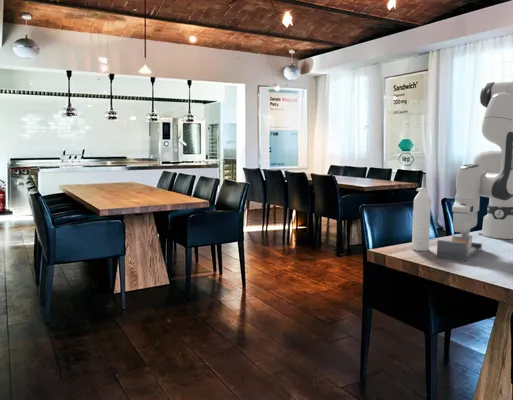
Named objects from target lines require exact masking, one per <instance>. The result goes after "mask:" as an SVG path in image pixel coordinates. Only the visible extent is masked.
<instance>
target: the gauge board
mask: <svg viewBox="0 0 513 400" xmlns="http://www.w3.org/2000/svg"><path fill="white" fill-rule="evenodd" d="M436 243H437V247H436V257H437V258H440V259H447V260H455V261H460V262H466V261H467V260H469V259H471V258H473V256H475V255H477V253H479V252H480V251H482V250H483V243H480V242H473V241H472V249H470V250H468V251H467V244H468V243H460V242H452V240H451V241H450V240H443V239H442V240H441V239H438V240H437V242H436Z"/></svg>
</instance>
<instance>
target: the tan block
mask: <svg viewBox="0 0 513 400" xmlns="http://www.w3.org/2000/svg"><path fill="white" fill-rule="evenodd" d="M451 241H452V242H460V243H468V244H467V251H468V250H470V249H472V242H473V235H470V234H469V235H461V233H459V234H458V233H455V234H454V235H452V236H451Z"/></svg>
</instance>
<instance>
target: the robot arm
mask: <svg viewBox="0 0 513 400" xmlns="http://www.w3.org/2000/svg"><path fill="white" fill-rule="evenodd" d="M479 102H480V104H481V105H482V106H483V107H484V108H486V109H485V112H484V115H483V120H482V124H481V133H482V135H483V137H484V138H485V140H487V141H489V142H491V143H493V144H495V145H496V146H498V148H500V150H487V151H486V150H485V151H483V152H482V151H481V152H478V153H477V154H476V155H475V156H474V159H473V163H470V164H462V165H461V166H459V167H458V169H457V172H456V178H455V190H456V193H455V196H454V204H453V205H452V207H451V211H452V212H453V214H452V223H453V226H452V227H453V232H456V233H460V235H469V236H470V233H471V229H473V228H474V227H476V226H477V224H478V212H479V211H480V204H481V203H480V201H481V199H480V197H485V198H489V201H488V205H487V208H486V209H487V214H486V215H484V216H483V221H482V229H481V230H479V231H478V233H477V234H478V235H481V236H484V237H487V238H494V239H503V240H513V81H505V82H503V81H499V82H494V81H493V82H488V83H485V84H484V85H483V86H482V88H481V91H480V93H479Z"/></svg>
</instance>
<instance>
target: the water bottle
mask: <svg viewBox="0 0 513 400" xmlns="http://www.w3.org/2000/svg"><path fill="white" fill-rule="evenodd" d="M416 192H418V193H417V194H416V195H415V197H414V199H413V212H412V213H413V214H412V232H411V235H412V238H411V250H413V251H416V252H428V251H429V250H430V234H431V233H430V229H431V226H430V224H431V210H432V209H431V208H432V207H431V206H432V199H431V197H430V196H429V194H428V193H427V188H426V187H418V188H416Z"/></svg>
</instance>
